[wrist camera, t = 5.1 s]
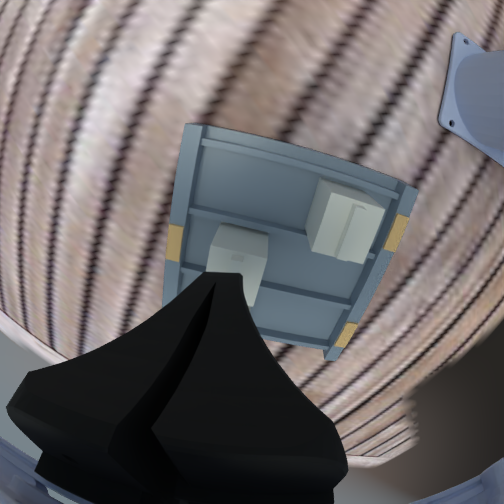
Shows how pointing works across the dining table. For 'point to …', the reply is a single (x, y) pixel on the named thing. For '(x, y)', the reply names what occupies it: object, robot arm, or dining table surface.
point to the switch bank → (279, 230)
